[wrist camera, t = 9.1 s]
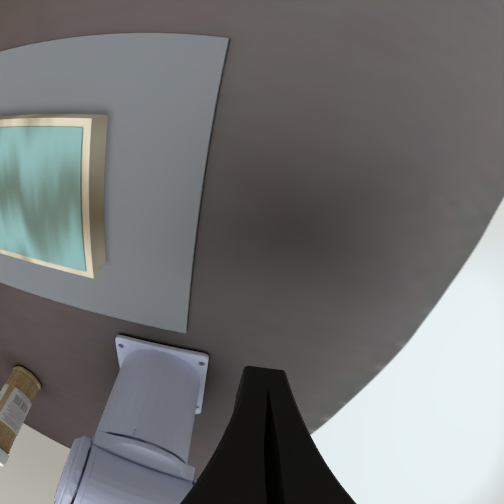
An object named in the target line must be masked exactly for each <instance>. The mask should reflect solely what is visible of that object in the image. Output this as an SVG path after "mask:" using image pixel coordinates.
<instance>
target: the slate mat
mask: <svg viewBox="0 0 504 504" xmlns="http://www.w3.org/2000/svg"><path fill="white" fill-rule="evenodd" d="M229 40H230V39H229V38H224V37H215V36H205V35H192V34H175V33H119V34H102V35H90V36H81V37H72V38H65V39H58V40H52V41H46V42H40V43H35V44H30V45H26V46H21V47H17V48H13V49H8V50H5V51H1V52H0V116H10V115H28V114H100V115H108V125H107V137H106V151H105V172H104V237H105V258H106V263H105V265H104V266H103V267H102V268H101V270H100V271H99V272H98V274H97V275H96V276H95V278H94V279H93V278H89V277H85V276H81V275H77V274H73V273H69V272H65V271H62V270H58V269H54V268H50V267H46V266H43V265H39V264H36V263H32V262H28V261H25V260H21V259H18V258H14V257H11V256H8V255H4V254H1V253H0V282H1V283H4V284H6V285H9V286H12V287H15V288H18V289H21V290H23V291H26V292H29V293H32V294H35V295H38V296H42V297H45V298H48V299H51V300H54V301H57V302H61V303H64V304H67V305H71V306H74V307H78V308H81V309H85V310H88V311H92V312H96V313H99V314H103V315H107V316H111V317H115V318H119V319H123V320H127V321H131V322H135V323H139V324H143V325H148V326H152V327H157V328H161V329H166V330H171V331H175V332H180V333H185V334H186V332H187V323H188V311H189V300H190V289H191V279H192V270H193V261H194V252H195V243H196V235H197V227H198V219H199V211H200V204H201V197H202V190H203V183H204V176H205V169H206V163H207V157H208V150H209V144H210V138H211V132H212V126H213V121H214V115H215V109H216V104H217V99H218V93H219V88H220V83H221V78H222V73H223V68H224V63H225V58H226V54H227V49H228V44H229Z"/></svg>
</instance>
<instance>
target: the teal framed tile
mask: <svg viewBox="0 0 504 504" xmlns="http://www.w3.org/2000/svg"><path fill="white" fill-rule="evenodd" d="M107 125H108V115H100V114H28V115H10V116H0V253H1V254H4V255H8V256H11V257H14V258H18V259H21V260H25V261H28V262H32V263H36V264H39V265H43V266H46V267H50V268H54V269H58V270H62V271H65V272H69V273H73V274H77V275H81V276H85V277H89V278H93V279H94V278H95V276H96V275H97V274H98V272H99V271H100V270H101V268H102V267H103V266H104V265H105V263H106V258H105V237H104V172H105V151H106V137H107Z"/></svg>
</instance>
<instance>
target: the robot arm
mask: <svg viewBox="0 0 504 504" xmlns="http://www.w3.org/2000/svg"><path fill="white" fill-rule="evenodd" d="M115 342H116V348H117V355H118V361H119V366H120V371H119V373H118V376H117V378H116V381H115V383H114V386H113V388H112V391H111V393H110V396H109V398H108V401H107V404H106V406H105V409H104V412H103V414H102V417H101V420H100V422H99V425H98V428H97V430H96V433H95V435H94V436H93V438H92V440H91V438H89V437H87V436H82V438H76V439H75V440H74V443H73V445H72V448H71V450H70V453H69V456H68V458H67V461H66V464H65V466H64V469H63V472H62V475H61V478H60V481H59V484H58V487H57V490H56V494H55V497H54V498H55V502H54V504H356V503H355V502H354V500H353V499H352V498H351V497H350V496H349V494H348V493H347V492H346V491H345V490H344V488H343V487H342V486H341V485H340V483H339V482H338V480H337V479H336V478H335V476H334V475H333V473H332V472H331V470H330V469H329V467H328V466H327V464H326V463H325V461H324V459H323V458H322V456H321V454H320V453H319V451H318V449H317V448H316V445H315V443H314V442H313V440H312V438H311V436H310V434H309V432H308V430H307V428H306V425H305V423H304V421H303V419H302V416H301V414H300V412H299V409H298V407H297V405H296V402H295V399H294V397H293V394H292V391H291V389H290V386H289V383H288V379H287V376H286V373H285V372H284V370H277V369H269V368H261V367H254V366H246V367H244V370H243V374H242V377H241V381H240V384H239V388H238V391H237V395H236V400H235V406H234V411H233V415H232V417H231V420H230V422H229V424H228V426H227V428H226V430H225V433H224V435H223V437H222V439H221V441H220V443H219V445H218V447H217V448H216V450H215V452H214V454H213V456H212V457H211V459H210V461H209V462H208V464H207V466H206V467H205V469H204V471H203V472H202V474H201V475H200V477H199V478H198V480H197V479H195V478H193V477H194V470H195V468H194V467H192V466H189V465H187V460H188V454H189V448H190V442H191V436H192V430H193V424H194V418H195V414H200V413H201V409H202V402H203V395H204V388H205V381H206V374H207V367H208V361H209V356H208V355H207V354H205V353H201V352H195V351H190V350H185V349H180V348H175V347H170V346H166V345H161V344H157V343H152V342H148V341H144V340H140V339H135V338H131V337H127V336H123V335H117V336H116V338H115Z"/></svg>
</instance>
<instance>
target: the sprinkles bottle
mask: <svg viewBox="0 0 504 504" xmlns="http://www.w3.org/2000/svg"><path fill="white" fill-rule="evenodd" d="M40 389H41V384H40V382H39V381H38V379H37V378H36V377H35V376H34V375H33V374H32V373H31V372H30V371H29V370H27V369H25V368H23V367H21V366H16V367H14V368H13V372H12V373H11V375H10V377H9V378H8V380H7V382H6V383H5V385H4V386H3V388H2V389H1V391H0V466H5V464H6V462H7V460H8V457H9V456H8V454H9V451H10V448H11V446H12V444H13V442H14V440H15V438H16V436H17V434H18V432H19V430H20V428H21V426H22V424H23V422H24V420H25V418H26V416H27V414H28V411H29V409H30V407H31V404H32V402H33V400H34V398H35V396H36V394H37V393H38V391H39V390H40Z"/></svg>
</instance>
